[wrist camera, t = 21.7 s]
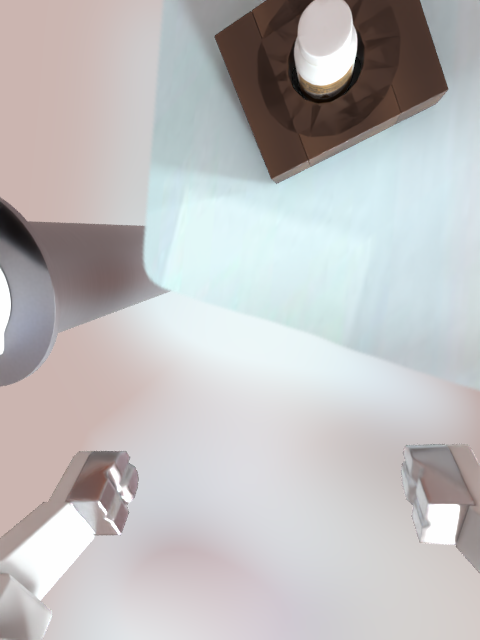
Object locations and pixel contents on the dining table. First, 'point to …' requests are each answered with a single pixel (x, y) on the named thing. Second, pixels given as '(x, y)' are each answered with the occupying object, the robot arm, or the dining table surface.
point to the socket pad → (346, 111)
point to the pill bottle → (325, 50)
